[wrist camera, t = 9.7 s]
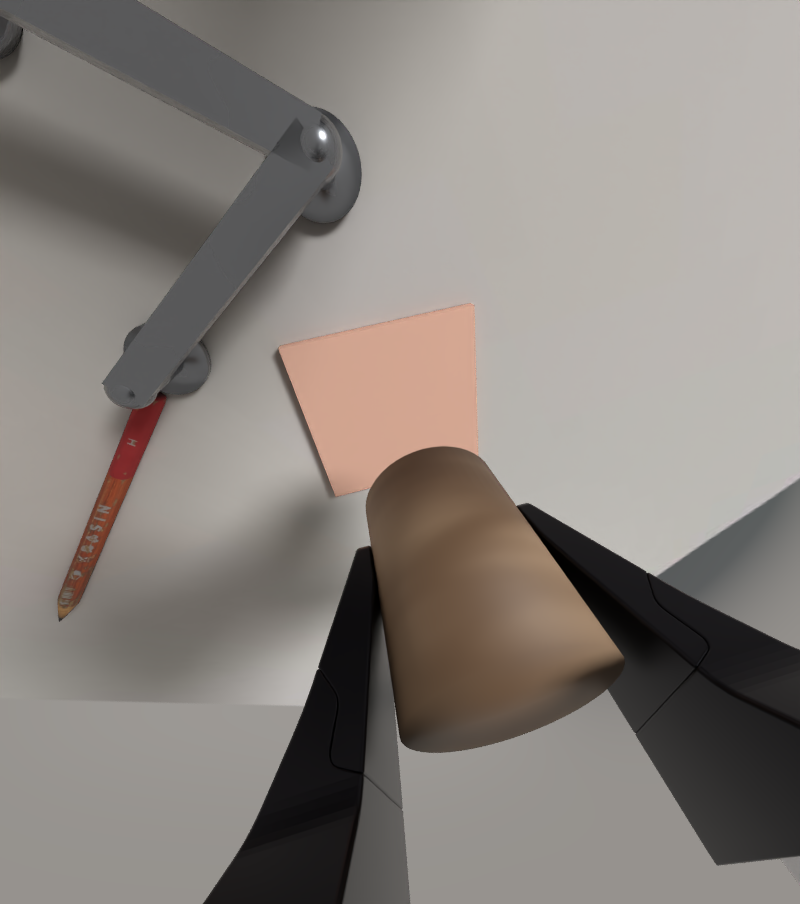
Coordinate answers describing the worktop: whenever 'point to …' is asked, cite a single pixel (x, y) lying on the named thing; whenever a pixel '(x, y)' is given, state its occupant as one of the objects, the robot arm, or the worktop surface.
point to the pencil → (109, 501)
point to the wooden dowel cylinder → (475, 609)
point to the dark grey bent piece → (229, 111)
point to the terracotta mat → (387, 392)
